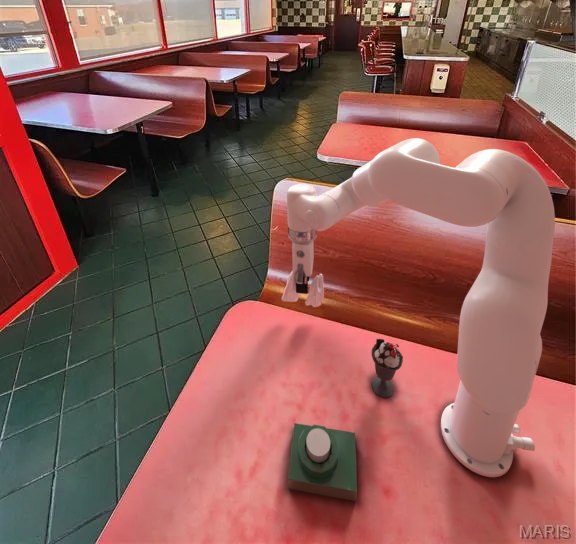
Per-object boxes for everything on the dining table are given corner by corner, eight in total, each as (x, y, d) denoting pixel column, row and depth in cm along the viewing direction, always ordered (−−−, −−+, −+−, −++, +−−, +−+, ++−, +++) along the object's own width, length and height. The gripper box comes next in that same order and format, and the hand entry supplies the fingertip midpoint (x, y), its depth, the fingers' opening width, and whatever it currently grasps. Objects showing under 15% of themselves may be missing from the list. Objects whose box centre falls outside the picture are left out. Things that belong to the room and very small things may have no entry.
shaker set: (281, 306, 93) (280, 274, 89) (283, 295, 97) (282, 264, 93) (324, 308, 92) (324, 276, 88) (324, 297, 95) (324, 266, 92)
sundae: (399, 404, 72) (407, 356, 67) (368, 398, 73) (373, 350, 68) (396, 375, 78) (403, 329, 73) (367, 370, 79) (372, 324, 74)
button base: (353, 441, 66) (355, 426, 64) (355, 501, 57) (357, 485, 56) (294, 432, 67) (294, 416, 66) (288, 488, 59) (287, 472, 57)
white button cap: (330, 436, 63) (330, 430, 62) (329, 465, 59) (330, 458, 58) (307, 433, 63) (307, 426, 62) (305, 460, 59) (305, 454, 58)
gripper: (314, 250, 77) (314, 310, 84) (318, 214, 93) (318, 267, 99) (282, 248, 79) (285, 308, 85) (292, 213, 94) (293, 266, 101)
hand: (302, 285), depth 92 cm, fingers closed on shaker set, 4 cm apart
